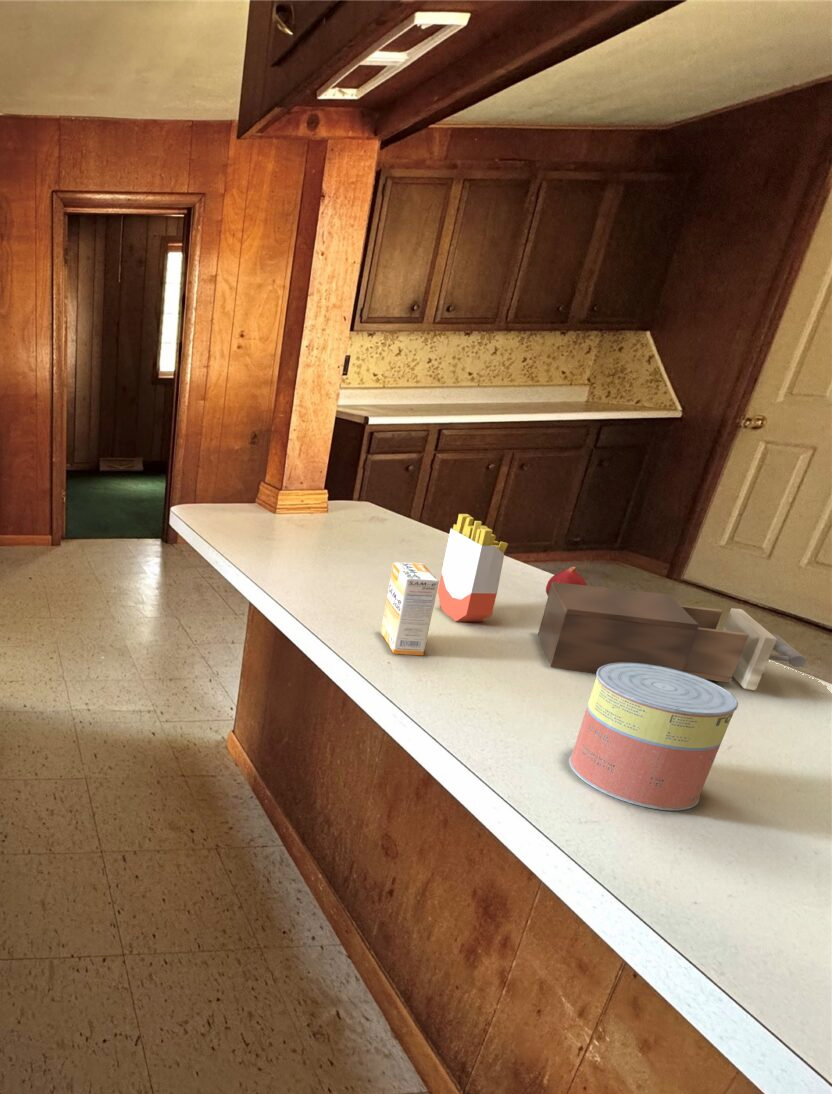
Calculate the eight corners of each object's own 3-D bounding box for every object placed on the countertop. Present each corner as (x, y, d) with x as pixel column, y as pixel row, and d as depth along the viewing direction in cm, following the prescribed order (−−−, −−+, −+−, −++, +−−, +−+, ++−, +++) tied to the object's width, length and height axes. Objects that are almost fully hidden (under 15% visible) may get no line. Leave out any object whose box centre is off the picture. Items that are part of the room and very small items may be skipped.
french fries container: (460, 604, 124) (481, 511, 118) (491, 627, 114) (515, 527, 108) (434, 604, 125) (453, 511, 118) (462, 627, 115) (485, 527, 108)
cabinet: (650, 650, 104) (669, 594, 101) (676, 686, 94) (699, 624, 91) (537, 635, 111) (551, 581, 107) (550, 666, 101) (567, 608, 97)
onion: (534, 605, 123) (545, 564, 120) (553, 599, 125) (564, 559, 122) (569, 615, 118) (581, 573, 115) (588, 609, 120) (600, 568, 117)
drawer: (762, 661, 98) (782, 613, 95) (799, 697, 89) (823, 644, 86) (610, 641, 106) (624, 596, 103) (629, 671, 97) (646, 622, 94)
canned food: (724, 818, 69) (767, 719, 65) (597, 802, 72) (629, 706, 68) (661, 756, 79) (695, 667, 75) (552, 744, 82) (578, 658, 78)
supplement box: (378, 633, 114) (391, 561, 109) (409, 635, 113) (423, 562, 108) (391, 654, 106) (405, 578, 101) (424, 656, 105) (440, 579, 100)
